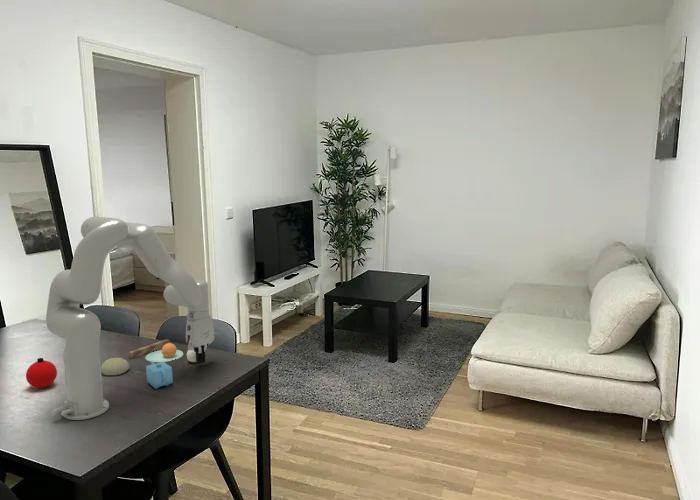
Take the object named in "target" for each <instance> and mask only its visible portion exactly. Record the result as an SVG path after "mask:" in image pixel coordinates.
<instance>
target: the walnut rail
mask: <svg viewBox="0 0 700 500" xmlns="http://www.w3.org/2000/svg"><path fill="white" fill-rule="evenodd" d="M167 343H171V340H170V339H167V338H165V339H163V340H160V341H157V342H154V343H151V344H148V345H145V346H141V347H139V348H136V349H133V350H130V351H128V352H127V353H128V359H130V360H134V359H137V358H140V357H142V355H143V356H146V355H148V354H149V353H151V352H153V351H156V350H157V351H158V350H162V347H163V346H164V345H165V344H167Z"/></svg>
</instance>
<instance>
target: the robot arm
mask: <svg viewBox="0 0 700 500" xmlns="http://www.w3.org/2000/svg"><path fill="white" fill-rule="evenodd" d="M80 226H81V227H80V233H81V236H82V238H81V240H80V241H79V243H78V244H77V246H76V248H75V249H74V253H73V258H72V262H71V267H70V269H65V270H64V269H63V270H62V271H59V273H57V274H56V275H55V276H54V278H53V279H52V282H51V284H50V287H49V294H48V300H47V307H46V316H45V323H46V327H47V330H48V331H49V332H50V333H51V334H53V335H55V336H57V337H60V338H64V339H65V346H64V351H63V365H64V374H65V375H64V376H65V388H66V398H67V399H65V400H63V404H61V405H60V406H59V407H55V408H53V409H51V410H50V413H51V415H52V417H56V416H58V415H60V414H61V416H63V418H64V419H67V420H69V421H70V420H71V421H82V420H83V421H84V420H89V419H92V418H96V417H98V416H101V415H103V414H104V413H106V412H107V411H108V409H109V408H110V402H109V400H106V399H104V396H103V395H104V394H103V382H102V372H101V357H100V340H101V339H100V336H101V331H102V330H101V329H102V328H101V321H100V319H99V317H98V316H97V315H96V313H94V312H92V311H90V310H88V309H85V308H81V307H80V305H83V306H85V305H92V304H94V303H95V302H96V301H97V300H98V299H99V297H100V294H101V289H102V282H103V274H104V267H105V263H106V259H107V256H108V255H109V253H110V252H111V251H112V250H114V249H115V248H125V249H126V248H127V249H131V250H133V251H134V252H135V254H136V255H137V256H138V258H139V259H140V260H141V261H142V263H143V265H144V267H145V268H146V269H147V271H148V272H149V273H150V274H152V276H154V277H156V278H158V279H160V280H162V281H164V282H166V283H168V284H169V285H167V286H166V287H165V288H164V291H163V298H164V300H165V301H166V302H167V303H169V304H171V305H175V306H179V307H183V308H187V314H186V315H185V316H186V318H187V319H186V325H185V343H186V346H187V351H188V350H190V351H194V352H196V362H195V363H198V364H199V363H200V364H203V363H205V362H206V351H207V349H208V346H209V345H211V344H212V342H214V340H215V328H214V323H213V317H212V315H210V301H209V300H210V299H209V296H210V295H209V283H208V282H207V280H203V279H195V278H194V277H193V276H192V274H190V272H189V271H187V270H186V269H185V268H184V267H183V266H182V265H181V264H180V263H178V262H177V260H175V259H174V258H173V257H172V256H171V255H170V253H169V251H168V250H167V249H166V247H165V245H164V244H163V242H162V241H161V239H160V238H159V236H158V235H157V233H156V231H155V230H154V229H153V227H151V225H147V224H144V223H137V222H127V221H124V220H123V219H120V218H116V217H108V216H107V217H106V216H104V217H103V216H90V217H88V218H86V219H85V220H83V222H82V224H81V225H80Z"/></svg>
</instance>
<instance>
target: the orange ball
mask: <svg viewBox="0 0 700 500" xmlns="http://www.w3.org/2000/svg"><path fill="white" fill-rule="evenodd" d="M161 350H162V354H163V355H164V356H165V357H172V356H174V355H175V354H176V350H177V347H176V345H175V344H174V343H171V342H170V343H167V344H165V345H164V346H163V347H162V349H161Z"/></svg>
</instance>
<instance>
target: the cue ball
mask: <svg viewBox="0 0 700 500" xmlns="http://www.w3.org/2000/svg"><path fill="white" fill-rule="evenodd" d="M186 358H187V360H188V361H189V362H191V363H197V362H196V352H194V351H190V350H188V349H187V351H186Z"/></svg>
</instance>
